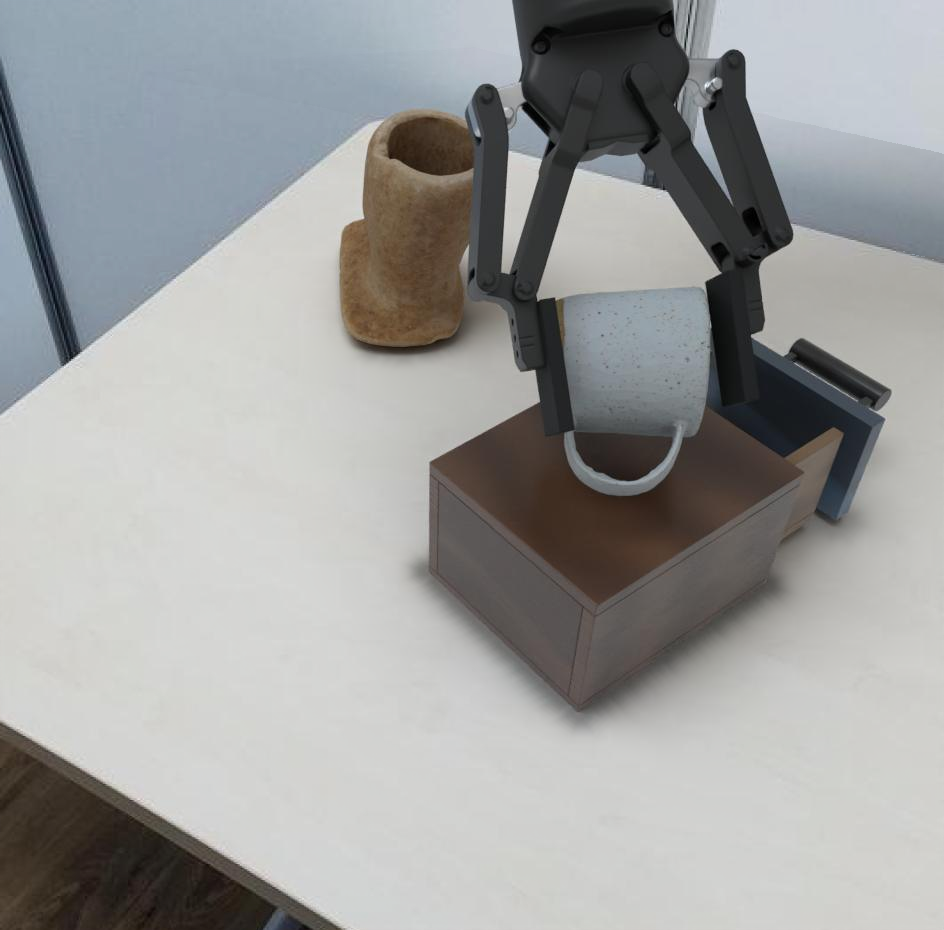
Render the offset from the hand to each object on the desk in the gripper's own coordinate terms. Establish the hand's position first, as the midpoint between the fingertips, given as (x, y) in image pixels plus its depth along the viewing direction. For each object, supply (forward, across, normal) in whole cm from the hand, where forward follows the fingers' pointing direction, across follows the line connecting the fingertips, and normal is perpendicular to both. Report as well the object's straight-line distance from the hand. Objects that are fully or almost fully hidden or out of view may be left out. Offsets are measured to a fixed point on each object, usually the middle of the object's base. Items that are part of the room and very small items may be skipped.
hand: (650, 417), depth 57 cm
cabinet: (+9, 0, -14) cm, 16 cm away
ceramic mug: (+1, 0, -5) cm, 5 cm away
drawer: (+5, -11, -16) cm, 20 cm away
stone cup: (-13, +4, -37) cm, 39 cm away
